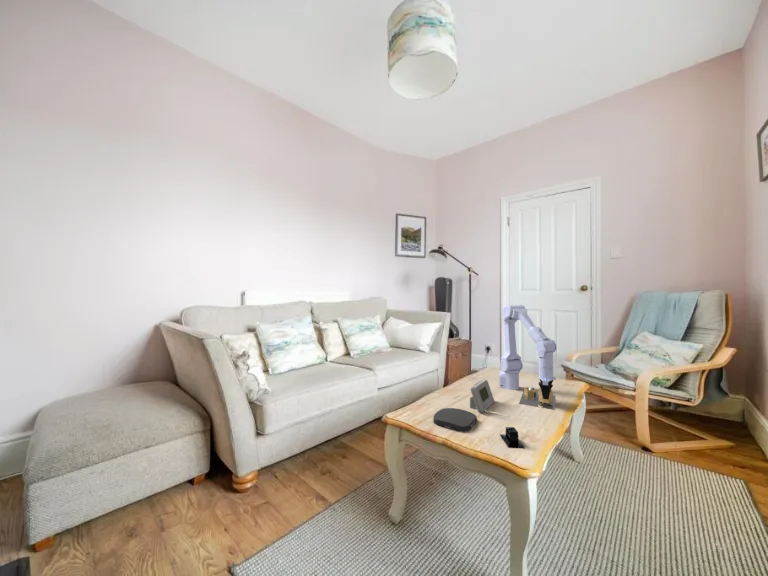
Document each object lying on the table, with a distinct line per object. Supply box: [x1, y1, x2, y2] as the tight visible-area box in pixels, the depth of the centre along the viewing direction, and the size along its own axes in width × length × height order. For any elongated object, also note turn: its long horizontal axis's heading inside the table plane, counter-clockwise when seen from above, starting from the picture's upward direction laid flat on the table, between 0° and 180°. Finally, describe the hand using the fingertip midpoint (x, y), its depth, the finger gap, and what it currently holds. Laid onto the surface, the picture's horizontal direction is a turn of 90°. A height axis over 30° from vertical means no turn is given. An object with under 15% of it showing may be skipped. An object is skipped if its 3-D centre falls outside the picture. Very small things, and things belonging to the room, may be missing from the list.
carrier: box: [518, 386, 556, 411], centre depth 142 cm, size 14×20×4 cm
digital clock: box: [469, 378, 495, 414], centre depth 135 cm, size 16×9×11 cm, turn 131°
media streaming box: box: [433, 407, 478, 433], centre depth 120 cm, size 15×15×3 cm
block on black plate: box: [499, 426, 526, 449], centre depth 105 cm, size 12×7×5 cm, turn 176°
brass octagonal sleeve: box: [538, 387, 554, 404], centre depth 137 cm, size 6×6×5 cm
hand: (545, 396), depth 137 cm, fingers closed on brass octagonal sleeve, 5 cm apart
